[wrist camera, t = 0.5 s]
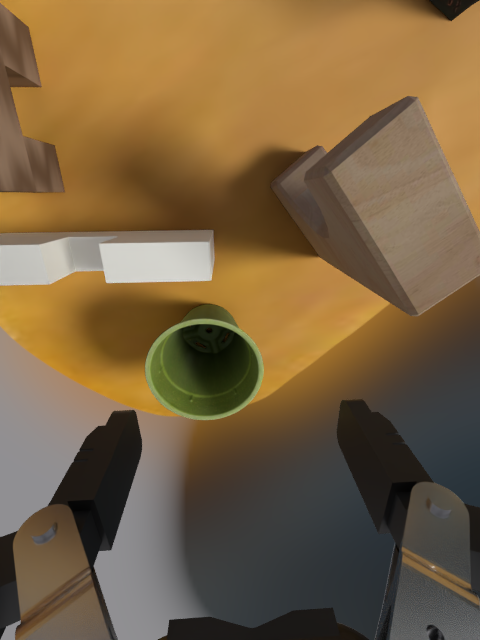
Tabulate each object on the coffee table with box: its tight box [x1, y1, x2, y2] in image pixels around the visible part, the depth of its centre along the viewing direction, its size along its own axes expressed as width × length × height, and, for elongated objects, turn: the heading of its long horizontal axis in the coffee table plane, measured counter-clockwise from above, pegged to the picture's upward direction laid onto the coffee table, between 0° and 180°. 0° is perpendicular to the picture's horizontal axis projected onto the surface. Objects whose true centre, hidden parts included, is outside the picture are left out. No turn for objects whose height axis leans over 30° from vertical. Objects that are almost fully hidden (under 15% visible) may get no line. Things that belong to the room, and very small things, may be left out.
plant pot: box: [145, 304, 264, 420], centre depth 35 cm, size 12×12×11 cm
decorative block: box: [271, 96, 480, 316], centre depth 25 cm, size 11×6×20 cm, turn 38°
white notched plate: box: [0, 230, 215, 285], centre depth 31 cm, size 4×24×10 cm, turn 91°
